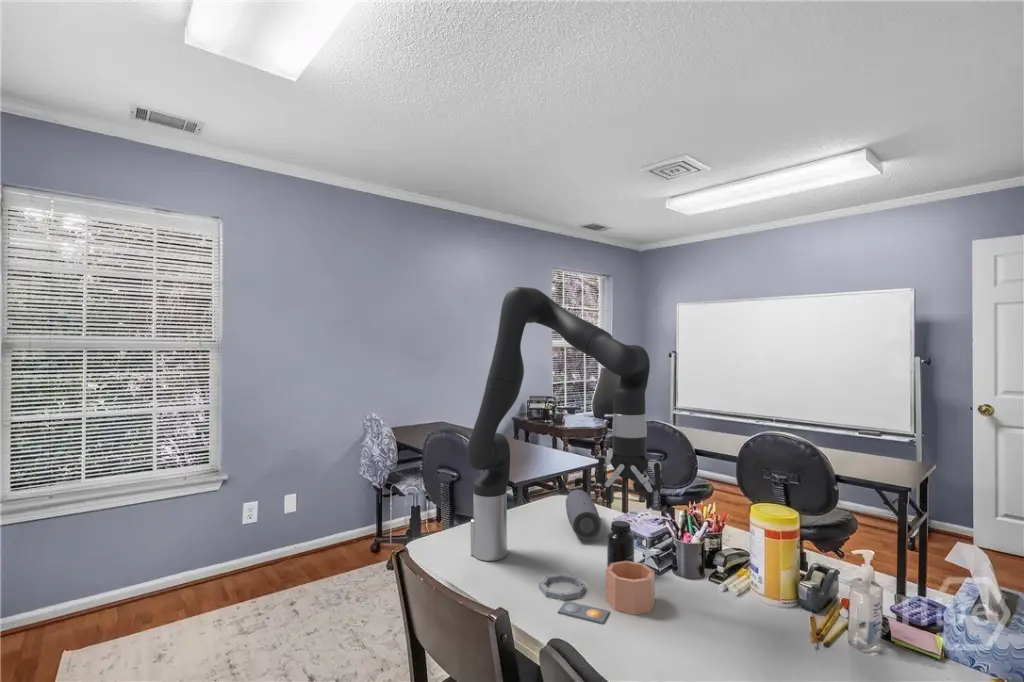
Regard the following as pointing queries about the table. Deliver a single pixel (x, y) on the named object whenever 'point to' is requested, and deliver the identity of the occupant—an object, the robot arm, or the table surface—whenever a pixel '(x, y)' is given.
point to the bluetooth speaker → (582, 515)
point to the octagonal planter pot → (630, 587)
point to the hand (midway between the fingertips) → (629, 505)
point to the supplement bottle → (620, 543)
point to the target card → (584, 612)
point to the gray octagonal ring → (558, 594)
